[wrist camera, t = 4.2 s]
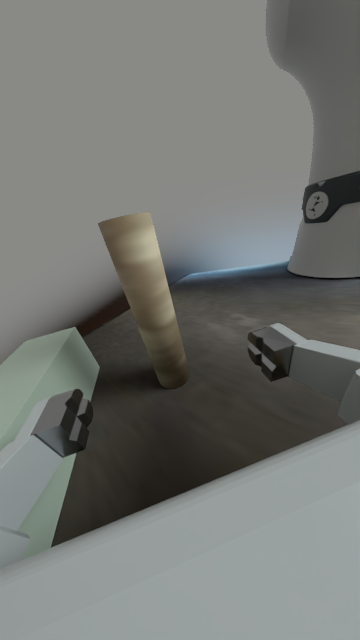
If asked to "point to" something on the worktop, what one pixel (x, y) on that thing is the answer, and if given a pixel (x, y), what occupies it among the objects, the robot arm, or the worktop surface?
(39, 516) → the pale mint rectangular block
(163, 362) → the dowel
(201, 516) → the robot arm
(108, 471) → the worktop surface
